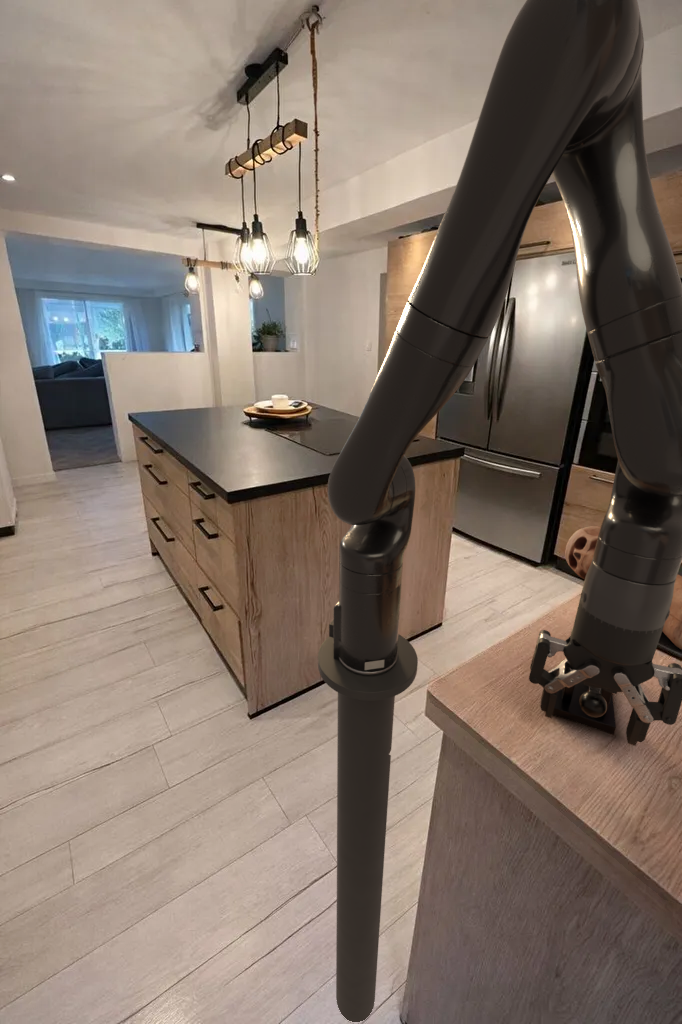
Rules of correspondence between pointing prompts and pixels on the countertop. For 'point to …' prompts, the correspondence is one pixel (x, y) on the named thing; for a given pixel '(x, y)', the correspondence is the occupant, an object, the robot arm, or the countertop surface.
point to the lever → (593, 702)
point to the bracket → (572, 711)
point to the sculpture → (579, 558)
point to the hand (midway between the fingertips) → (587, 725)
